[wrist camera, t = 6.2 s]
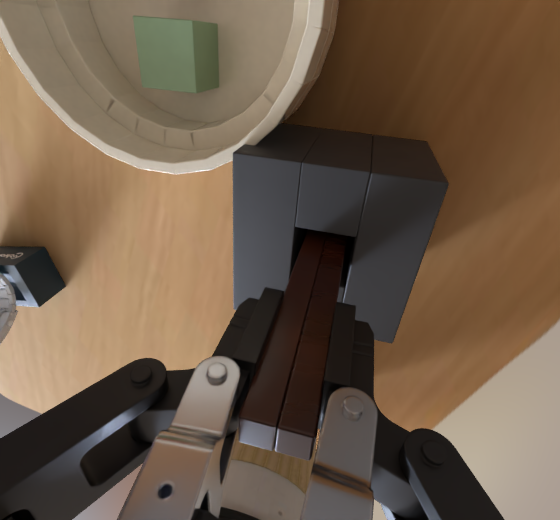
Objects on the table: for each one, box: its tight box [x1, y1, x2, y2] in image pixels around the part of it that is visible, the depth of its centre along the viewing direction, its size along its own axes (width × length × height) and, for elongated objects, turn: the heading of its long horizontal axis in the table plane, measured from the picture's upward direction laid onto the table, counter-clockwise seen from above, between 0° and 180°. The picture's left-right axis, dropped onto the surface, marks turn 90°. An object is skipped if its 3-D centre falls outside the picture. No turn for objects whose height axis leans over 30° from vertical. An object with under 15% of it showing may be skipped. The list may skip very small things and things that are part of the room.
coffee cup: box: [219, 436, 316, 520], centre depth 26 cm, size 10×10×15 cm
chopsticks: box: [238, 229, 347, 461], centre depth 15 cm, size 2×1×16 cm, turn 86°
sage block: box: [133, 15, 219, 93], centre depth 18 cm, size 3×3×3 cm
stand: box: [233, 123, 449, 343], centre depth 19 cm, size 9×9×7 cm
